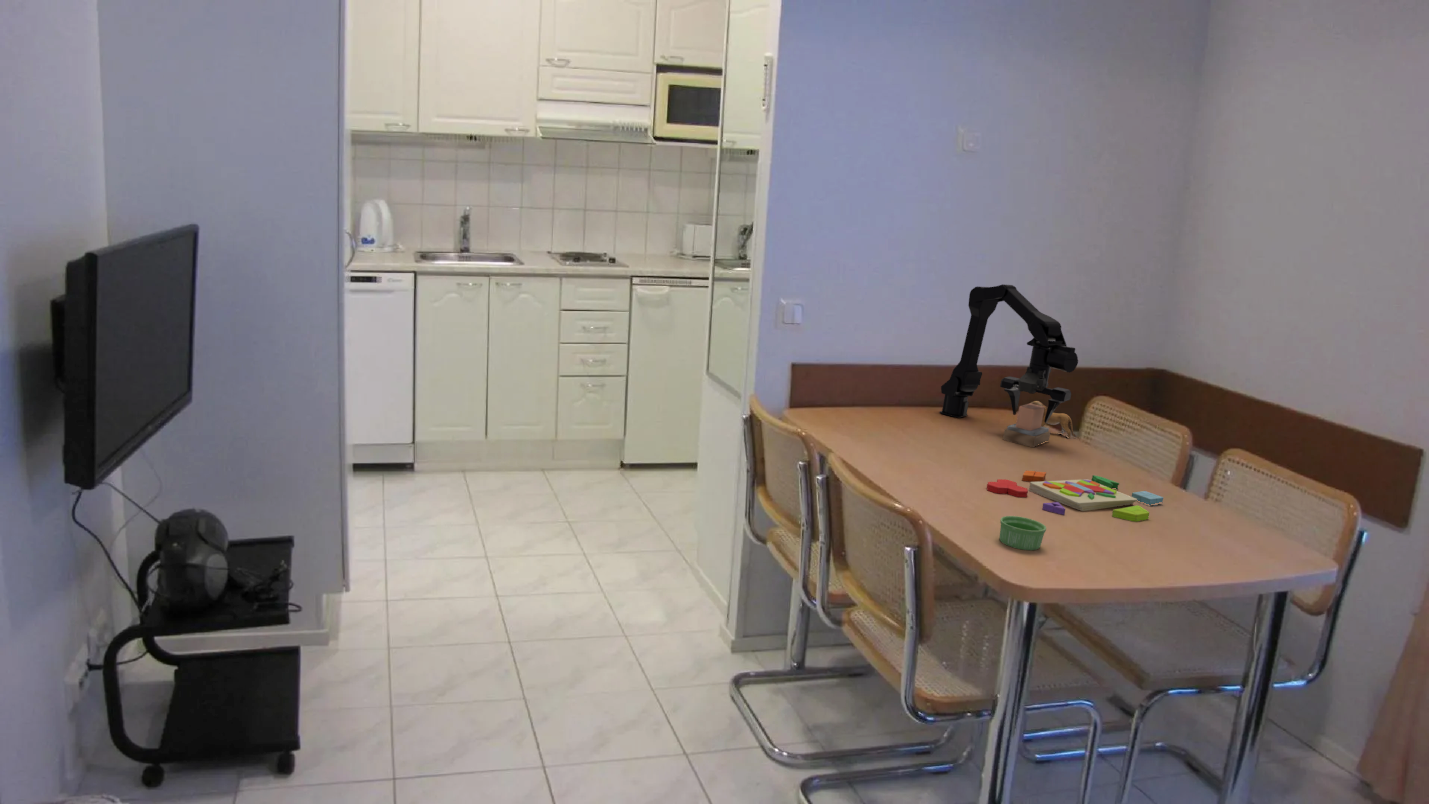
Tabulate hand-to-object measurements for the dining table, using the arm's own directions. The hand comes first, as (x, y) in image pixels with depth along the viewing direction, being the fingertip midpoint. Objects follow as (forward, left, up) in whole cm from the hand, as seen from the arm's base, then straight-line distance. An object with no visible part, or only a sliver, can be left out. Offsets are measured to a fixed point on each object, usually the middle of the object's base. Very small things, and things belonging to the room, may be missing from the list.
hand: (1029, 418), depth 325 cm
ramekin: (+35, -94, -7) cm, 100 cm away
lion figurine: (0, +17, -7) cm, 18 cm away
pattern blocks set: (+31, -46, -7) cm, 56 cm away
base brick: (0, 0, -6) cm, 6 cm away
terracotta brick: (0, 0, -2) cm, 3 cm away
